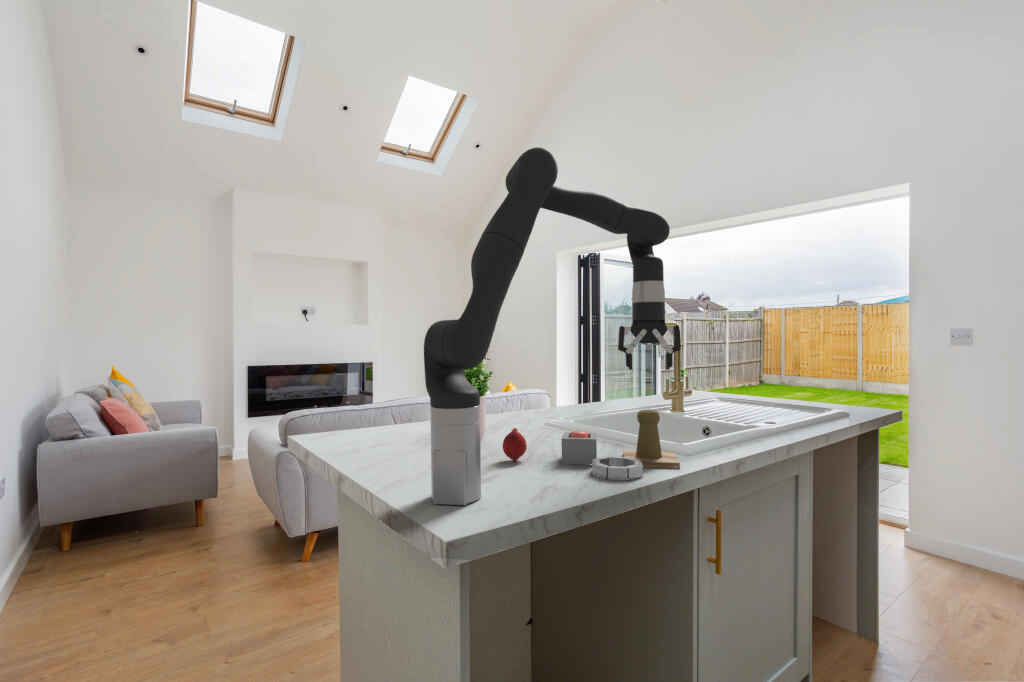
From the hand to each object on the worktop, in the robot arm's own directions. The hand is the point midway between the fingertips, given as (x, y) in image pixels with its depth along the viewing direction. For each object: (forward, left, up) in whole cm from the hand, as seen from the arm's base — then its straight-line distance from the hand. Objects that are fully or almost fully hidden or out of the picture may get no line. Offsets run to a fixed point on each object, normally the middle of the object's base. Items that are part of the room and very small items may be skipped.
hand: (649, 369), depth 120 cm
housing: (-1, +16, -22) cm, 27 cm away
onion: (-4, +32, -22) cm, 39 cm away
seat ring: (-12, +8, -22) cm, 26 cm away
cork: (0, 0, -21) cm, 21 cm away
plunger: (-1, +17, -21) cm, 27 cm away
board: (0, 0, -22) cm, 22 cm away
